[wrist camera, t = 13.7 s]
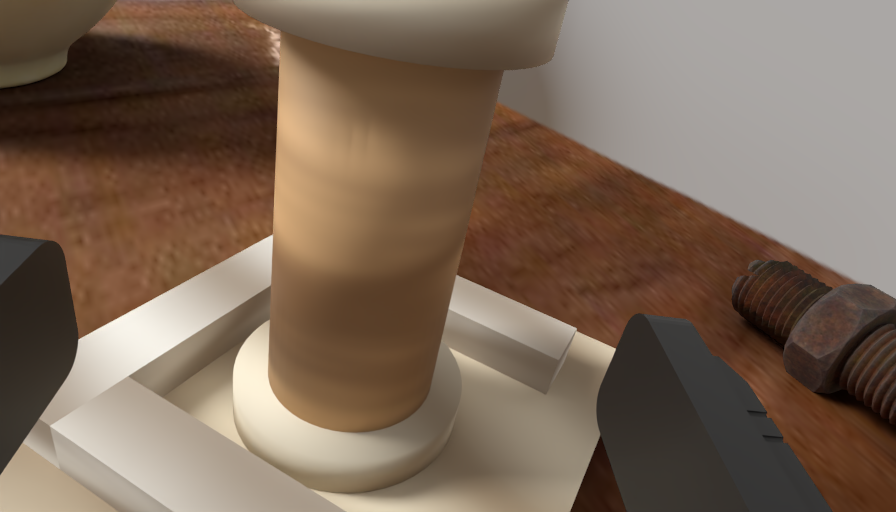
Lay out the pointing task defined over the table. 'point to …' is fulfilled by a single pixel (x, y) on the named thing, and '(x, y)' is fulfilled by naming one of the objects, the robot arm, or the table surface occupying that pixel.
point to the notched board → (456, 481)
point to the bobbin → (373, 227)
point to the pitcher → (42, 35)
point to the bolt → (825, 331)
